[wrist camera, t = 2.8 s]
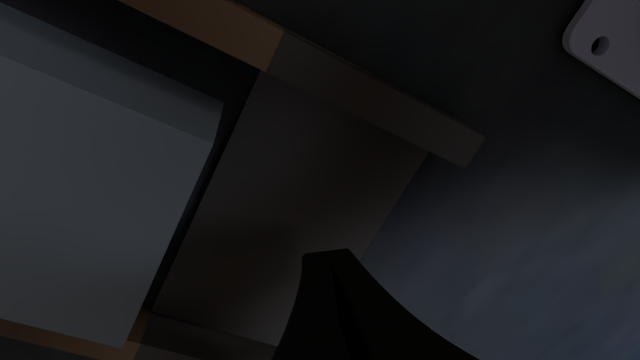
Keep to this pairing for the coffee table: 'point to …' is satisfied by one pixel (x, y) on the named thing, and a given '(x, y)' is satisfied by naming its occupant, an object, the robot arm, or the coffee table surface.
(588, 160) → the coffee table surface
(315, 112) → the trap lane
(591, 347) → the coffee table surface
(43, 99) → the block
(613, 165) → the coffee table surface
